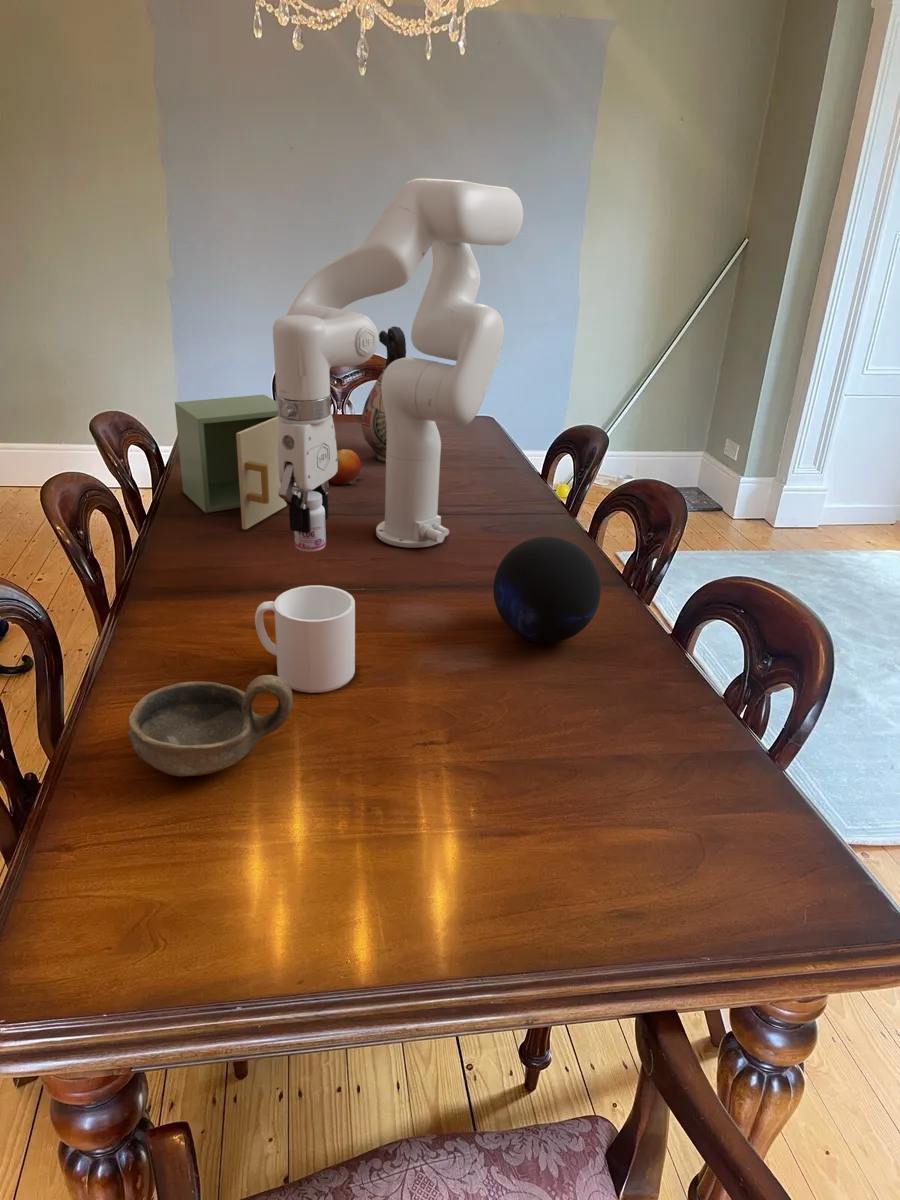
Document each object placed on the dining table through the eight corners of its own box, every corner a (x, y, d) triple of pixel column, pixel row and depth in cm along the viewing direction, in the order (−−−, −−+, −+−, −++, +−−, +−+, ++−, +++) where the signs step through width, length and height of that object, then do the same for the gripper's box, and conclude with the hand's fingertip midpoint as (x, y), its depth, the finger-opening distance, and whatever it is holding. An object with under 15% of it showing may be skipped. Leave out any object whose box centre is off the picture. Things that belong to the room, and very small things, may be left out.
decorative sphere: (614, 640, 121) (629, 545, 114) (548, 674, 112) (560, 573, 105) (535, 602, 131) (545, 513, 124) (468, 631, 121) (475, 536, 114)
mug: (358, 654, 114) (358, 587, 109) (350, 695, 105) (350, 623, 100) (266, 650, 113) (262, 582, 109) (250, 691, 104) (245, 618, 100)
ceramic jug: (355, 449, 199) (355, 318, 185) (417, 447, 203) (422, 318, 190) (370, 471, 184) (372, 331, 171) (437, 468, 189) (444, 331, 175)
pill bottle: (296, 553, 127) (293, 502, 123) (293, 541, 131) (290, 490, 127) (328, 551, 128) (326, 499, 124) (324, 538, 132) (322, 488, 128)
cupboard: (293, 499, 166) (291, 409, 158) (205, 513, 157) (197, 418, 149) (267, 480, 176) (264, 394, 168) (183, 492, 166) (174, 402, 158)
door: (315, 503, 164) (313, 414, 156) (265, 534, 149) (260, 437, 141) (293, 499, 166) (290, 410, 158) (242, 529, 151) (235, 433, 143)
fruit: (367, 482, 173) (347, 449, 170) (335, 499, 175) (315, 467, 172) (371, 470, 180) (352, 438, 177) (340, 487, 182) (321, 455, 179)
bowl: (147, 720, 98) (137, 647, 93) (298, 719, 99) (296, 647, 95) (116, 798, 85) (103, 718, 81) (289, 795, 87) (286, 716, 83)
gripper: (296, 426, 111) (303, 550, 119) (354, 396, 125) (356, 509, 134) (248, 418, 113) (258, 540, 122) (310, 390, 127) (315, 502, 136)
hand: (309, 523), depth 128 cm, fingers closed on pill bottle, 4 cm apart
